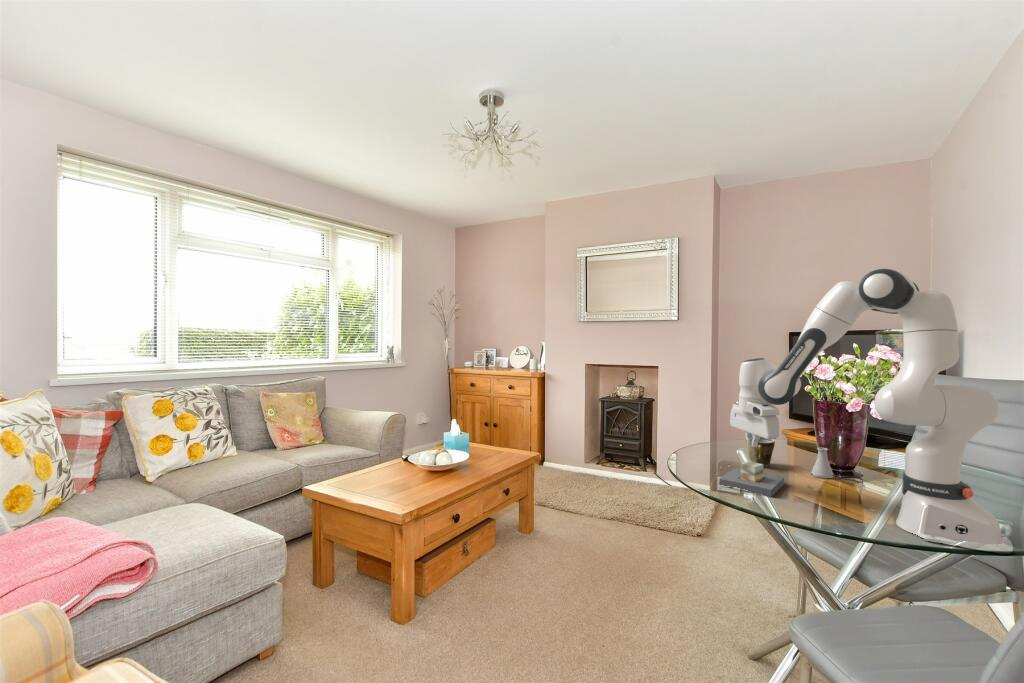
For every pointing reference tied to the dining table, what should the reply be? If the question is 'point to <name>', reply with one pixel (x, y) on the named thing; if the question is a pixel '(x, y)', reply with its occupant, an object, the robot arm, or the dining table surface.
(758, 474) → the faceted block
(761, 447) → the ceramic cup
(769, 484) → the pocket plate
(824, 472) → the flask
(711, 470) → the dining table surface
